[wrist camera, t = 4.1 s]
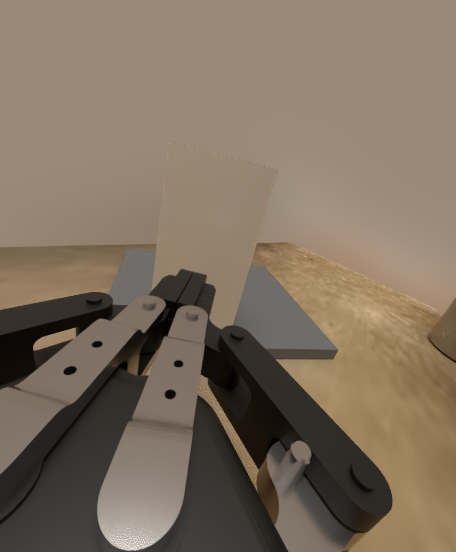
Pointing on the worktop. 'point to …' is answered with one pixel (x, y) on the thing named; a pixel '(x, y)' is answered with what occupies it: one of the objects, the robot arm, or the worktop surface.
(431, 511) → the worktop surface
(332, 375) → the worktop surface
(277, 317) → the mat
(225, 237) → the tile
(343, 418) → the worktop surface
